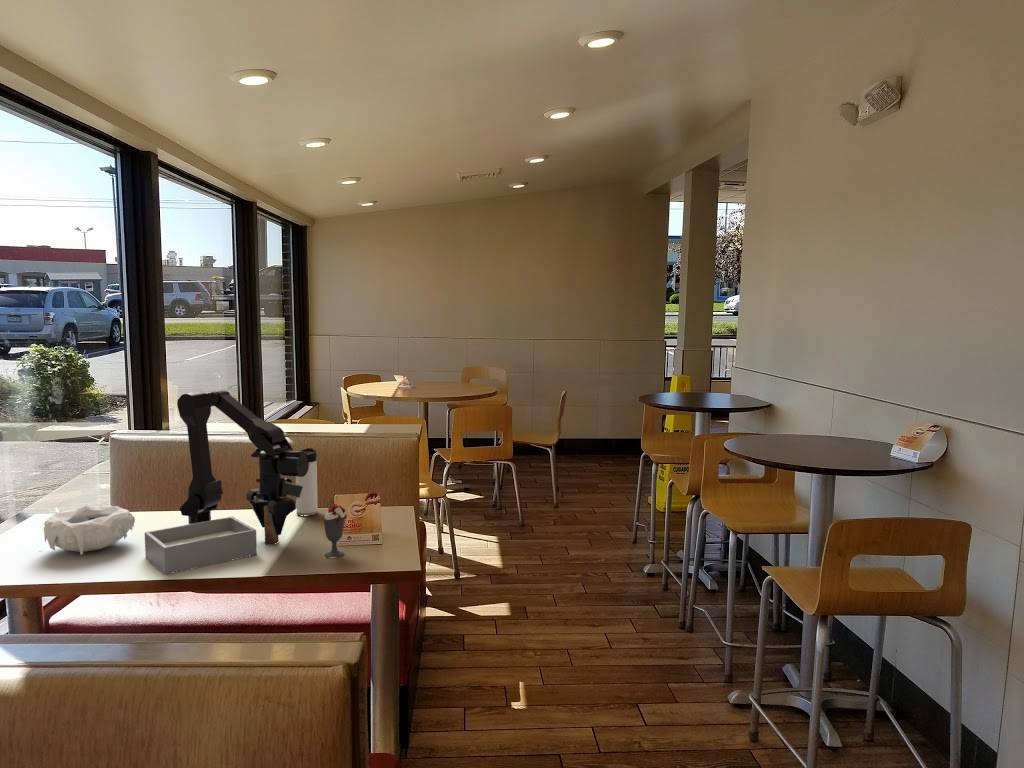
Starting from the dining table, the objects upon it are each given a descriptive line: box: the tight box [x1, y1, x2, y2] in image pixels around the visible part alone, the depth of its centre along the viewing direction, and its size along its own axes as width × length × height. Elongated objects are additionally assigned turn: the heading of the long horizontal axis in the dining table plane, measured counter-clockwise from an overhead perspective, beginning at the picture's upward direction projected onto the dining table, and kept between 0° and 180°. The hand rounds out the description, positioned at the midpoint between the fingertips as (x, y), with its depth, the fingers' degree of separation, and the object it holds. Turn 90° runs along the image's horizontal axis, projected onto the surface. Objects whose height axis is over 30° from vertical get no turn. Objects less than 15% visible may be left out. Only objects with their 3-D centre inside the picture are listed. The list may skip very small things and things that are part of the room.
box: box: [144, 516, 258, 575], centre depth 182 cm, size 16×22×6 cm
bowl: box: [43, 504, 136, 556], centre depth 187 cm, size 21×20×10 cm
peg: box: [264, 505, 280, 545], centre depth 193 cm, size 4×4×10 cm
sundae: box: [320, 499, 348, 558], centre depth 184 cm, size 7×7×15 cm
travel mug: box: [295, 447, 319, 516], centre depth 221 cm, size 6×7×20 cm
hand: (271, 531), depth 193 cm, fingers open, 9 cm apart
